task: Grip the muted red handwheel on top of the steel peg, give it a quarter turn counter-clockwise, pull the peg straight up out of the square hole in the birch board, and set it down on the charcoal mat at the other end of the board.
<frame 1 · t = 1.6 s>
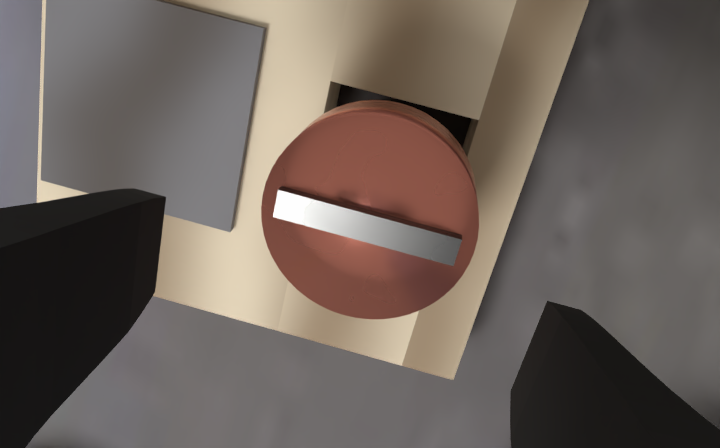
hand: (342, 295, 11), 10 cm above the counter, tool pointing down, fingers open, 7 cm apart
board: (293, 123, 21), on the counter
peg: (393, 150, 21), resting in board
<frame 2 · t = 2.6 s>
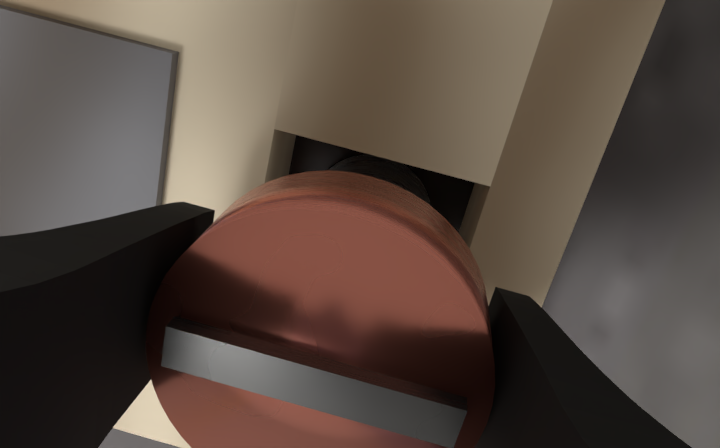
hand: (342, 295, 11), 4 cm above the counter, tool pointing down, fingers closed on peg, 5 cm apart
board: (235, 177, 16), on the counter
peg: (370, 213, 15), resting in board, touching gripper
when the fingers open (8 cm above the counter, at t = 6.6 s): peg drops 1 cm, resting on board.
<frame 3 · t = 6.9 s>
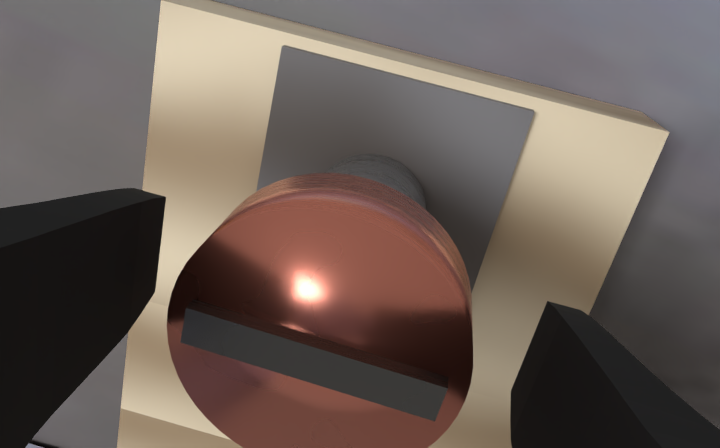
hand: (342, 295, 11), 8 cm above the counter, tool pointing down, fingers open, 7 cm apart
board: (357, 279, 21), on the counter
peg: (370, 208, 17), point 3 cm above the counter, touching board
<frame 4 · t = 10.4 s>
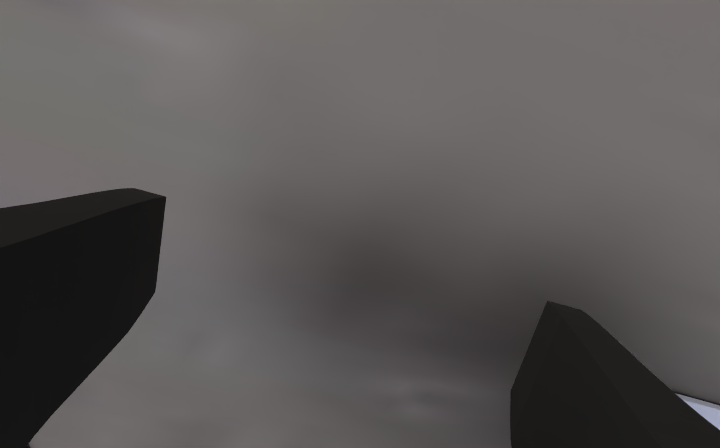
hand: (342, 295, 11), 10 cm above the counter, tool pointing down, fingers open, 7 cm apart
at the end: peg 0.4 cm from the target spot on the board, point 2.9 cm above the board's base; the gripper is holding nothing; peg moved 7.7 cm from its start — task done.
